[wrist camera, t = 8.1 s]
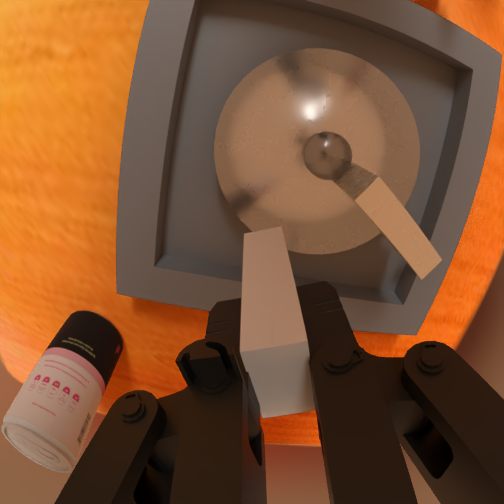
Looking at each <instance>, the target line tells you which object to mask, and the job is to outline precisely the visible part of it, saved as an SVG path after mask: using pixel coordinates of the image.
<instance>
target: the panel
mask: <svg viewBox="0 0 504 504" xmlns="http://www.w3.org/2000/svg"><path fill="white" fill-rule="evenodd" d="M307 48H324V49H332V50H338V51H342V52H345V53H349V54H352V55H354V56H356V57H359V58H361V59H363V60H365V61H367V62H368V63H370V64H372V65H373V66H375V67H376V68H378V69H379V70H380V71H381V72H383V73H384V74H385V75H386V76H387V77H388V78H389V79H390V80H391V81H392V82H393V83H394V84H395V85H396V86H397V88H398V89H399V90H400V92H401V93H402V95H403V96H404V98H405V99H406V101H407V103H408V105H409V107H410V109H411V111H412V114H413V116H414V119H415V122H416V126H417V130H418V135H419V142H420V162H419V170H418V174H417V178H416V182H415V185H414V188H413V190H412V193H411V195H410V197H409V199H408V201H407V203H406V205H405V206H404V208H405V209H406V211H407V212H408V213H409V214H410V216H411V217H412V218H413V220H414V221H415V222H416V224H417V225H418V226H419V228H420V229H421V231H422V232H423V233H424V235H425V236H426V237H427V239H428V240H429V242H430V243H431V244H432V246H433V247H434V249H435V250H436V252H437V253H438V255H439V256H440V258H441V259H442V261H441V262H440V263H439V264H438V265H437V266H436V267H435V268H434V269H433V270H431V271H430V272H429V273H428V274H427V275H426V276H425V277H424V278H423V279H422V280H421V278H420V277H419V276H418V275H417V274H416V273H415V272H414V271H413V269H412V268H411V267H410V266H409V265H408V264H407V263H406V262H405V261H404V259H403V258H402V257H401V256H400V255H399V254H398V253H397V252H396V251H395V250H394V249H393V248H392V246H391V245H390V244H389V243H388V242H387V241H386V239H385V238H384V237H383V236H382V235H381V234H378V235H377V236H375V237H374V238H372V239H371V240H369V241H367V242H365V243H363V244H361V245H360V246H357V247H354V248H352V249H349V250H346V251H341V252H337V253H331V254H305V253H298V252H294V251H290V250H287V251H288V256H289V260H290V264H291V268H292V273H293V277H294V281H295V286H302V285H307V284H312V283H317V282H322V281H326V282H328V283H329V284H330V285H332V286H333V287H334V288H335V289H336V291H337V294H338V296H339V298H340V301H341V303H342V306H343V309H344V311H345V313H346V316H347V318H348V321H349V324H350V326H351V329H352V330H355V331H365V332H377V333H389V334H402V335H417V333H418V331H419V329H420V327H421V325H422V323H423V321H424V319H425V317H426V315H427V313H428V311H429V309H430V307H431V305H432V303H433V301H434V299H435V297H436V295H437V293H438V290H439V288H440V286H441V284H442V282H443V279H444V277H445V275H446V272H447V270H448V268H449V265H450V263H451V261H452V258H453V256H454V253H455V251H456V248H457V245H458V243H459V240H460V238H461V235H462V232H463V229H464V227H465V224H466V221H467V218H468V215H469V212H470V209H471V206H472V203H473V200H474V196H475V193H476V190H477V186H478V183H479V179H480V176H481V172H482V168H483V165H484V161H485V157H486V153H487V148H488V144H489V139H490V135H491V130H492V125H493V120H494V114H495V108H496V102H497V95H498V88H499V80H500V72H501V61H502V54H500V53H499V52H497V51H496V50H495V49H493V48H492V47H490V46H489V45H487V44H486V43H485V42H483V41H482V40H480V39H478V38H477V37H475V36H474V35H472V34H471V33H469V32H467V31H466V30H464V29H463V28H461V27H459V26H458V25H456V24H454V23H452V22H451V21H449V20H447V19H445V18H443V17H442V16H440V15H438V14H436V13H434V12H432V11H430V10H428V9H426V8H424V7H422V6H420V5H418V4H416V3H414V2H412V1H410V0H150V1H149V5H148V9H147V13H146V16H145V20H144V24H143V28H142V33H141V37H140V41H139V46H138V50H137V55H136V60H135V65H134V70H133V76H132V81H131V87H130V93H129V99H128V106H127V112H126V120H125V127H124V135H123V144H122V154H121V164H120V176H119V190H118V208H117V238H116V278H117V294H121V295H126V296H131V297H135V298H140V299H145V300H150V301H155V302H161V303H166V304H171V305H177V306H182V307H188V308H193V309H199V310H205V311H211V309H212V308H213V307H214V305H215V304H216V303H217V302H219V301H225V300H231V299H237V298H242V273H243V246H244V234H245V233H250V232H253V231H252V230H250V229H249V228H248V227H247V226H246V225H245V224H244V223H243V222H242V221H241V220H240V219H239V217H238V216H237V215H236V214H235V212H234V211H233V210H232V208H231V207H230V205H229V203H228V202H227V200H226V198H225V196H224V194H223V191H222V189H221V187H220V184H219V181H218V177H217V173H216V168H215V161H214V140H215V133H216V127H217V124H218V121H219V117H220V114H221V112H222V110H223V107H224V105H225V103H226V101H227V99H228V98H229V96H230V95H231V93H232V92H233V90H234V89H235V87H236V86H237V85H238V84H239V83H240V82H241V80H242V79H243V78H244V77H245V76H247V75H248V74H249V73H250V72H251V71H252V70H253V69H255V68H256V67H258V66H259V65H261V64H262V63H264V62H265V61H267V60H269V59H271V58H274V57H276V56H278V55H280V54H284V53H287V52H290V51H294V50H300V49H307Z"/></svg>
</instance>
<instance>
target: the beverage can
mask: <svg viewBox="0 0 504 504" xmlns="http://www.w3.org/2000/svg"><path fill="white" fill-rule="evenodd" d="M122 349H123V342H122V338H121V336H120V334H119V332H118V331H117V329H116V328H115V327H114V325H113V324H112V323H111V322H110V321H109V320H107V319H106V318H104V317H103V316H101V315H99V314H97V313H94V312H91V311H77V312H74V313H73V314H71V315H70V316H69V318H68V319H67V320H66V322H65V323H64V324H63V326H62V327H61V329H60V330H59V332H58V333H57V334H56V336H55V337H54V339H53V340H52V342H51V343H50V345H49V346H48V348H47V349H46V350H45V352H44V353H43V355H42V356H41V358H40V360H39V361H38V363H37V364H36V366H35V367H34V369H33V370H32V372H31V373H30V375H29V377H28V378H27V380H26V381H25V383H24V385H23V386H22V388H21V390H20V391H19V393H18V394H17V396H16V398H15V399H14V401H13V403H12V405H11V406H10V408H9V410H8V412H7V413H6V415H5V417H4V419H3V422H4V424H3V425H2V432H3V434H4V436H5V437H6V438H7V440H8V441H9V442H10V443H11V444H12V445H13V446H14V447H15V448H16V449H17V450H19V451H20V452H21V453H22V454H24V455H25V456H27V457H28V458H29V459H31V460H33V461H34V462H36V463H38V464H40V465H42V466H44V467H46V468H48V469H51V470H54V471H57V472H62V473H69V472H71V471H72V468H73V467H74V466H75V465H76V464H77V461H78V458H79V456H80V453H81V450H82V447H83V445H84V442H85V439H86V437H87V434H88V431H89V429H90V426H91V423H92V421H93V419H94V416H95V414H96V411H97V409H98V406H99V404H100V401H101V399H102V396H103V394H104V391H105V389H106V387H107V384H108V382H109V380H110V377H111V375H112V373H113V370H114V368H115V366H116V363H117V361H118V359H119V357H120V354H121V352H122Z"/></svg>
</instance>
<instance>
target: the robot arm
mask: <svg viewBox="0 0 504 504" xmlns="http://www.w3.org/2000/svg"><path fill="white" fill-rule="evenodd" d="M207 324H208V326H207V329H206V335H205V339H202V340H198V341H195V342H193V343H192V344H190V345H188V346H186V347H185V348H184V349H183V350H182V351H181V352H180V353H179V355H178V357H177V359H176V361H175V362H176V364H177V366H178V367H179V369H180V371H181V373H182V375H183V377H184V379H185V381H186V383H187V385H188V387H186V388H185V389H183V390H181V391H179V392H177V393H174V394H171V395H168V396H165V397H162V398H159V399H156V398H155V397H154V395H153V394H152V393H150V392H147V391H145V390H135V391H132V392H128V393H126V394H124V395H123V396H121V397H120V398H118V399H117V400H116V402H115V403H114V404H113V405H112V407H111V408H110V410H109V412H108V413H107V415H106V417H105V418H104V420H103V422H102V423H101V425H100V427H99V428H98V430H97V431H96V433H95V435H94V437H93V438H92V440H91V441H90V443H89V445H88V447H87V448H86V450H85V451H84V453H83V455H82V456H81V458H80V460H79V462H78V463H77V465H76V467H75V469H74V470H73V472H72V474H71V475H70V477H69V479H68V481H67V483H66V484H65V486H64V488H63V489H62V491H61V493H60V495H59V497H58V498H57V500H56V502H55V504H267V496H266V472H265V446H264V433H263V430H262V427H261V425H260V412H261V415H262V418H269V417H276V416H283V415H289V414H295V413H301V412H307V411H313V410H316V414H317V421H318V430H319V439H320V441H321V447H322V454H323V460H324V466H325V473H326V479H327V486H328V493H329V499H330V504H418V503H417V499H416V495H415V492H414V488H413V485H412V482H411V478H410V475H409V472H408V468H407V465H406V462H405V459H404V456H403V453H402V449H401V446H400V444H401V445H402V447H403V448H404V450H405V451H406V453H407V454H408V456H409V457H410V459H411V460H412V461H413V463H414V464H415V466H416V467H417V469H418V470H419V472H420V473H421V475H422V476H423V478H424V479H425V481H426V482H427V484H428V485H429V487H430V488H431V490H432V491H433V493H434V494H435V496H436V497H437V499H438V500H439V502H440V503H441V504H504V399H503V398H502V397H501V396H500V395H499V394H498V393H497V392H496V391H495V390H494V389H493V388H492V387H491V386H490V385H489V384H488V383H487V382H486V381H485V380H484V379H483V378H482V377H481V376H480V375H479V374H478V373H477V372H476V371H475V370H474V369H473V368H472V367H471V366H470V365H469V364H468V363H467V362H466V361H465V360H464V359H462V358H461V357H460V356H459V355H458V354H457V353H456V352H455V351H454V350H453V349H452V348H450V347H449V346H447V345H446V344H444V343H440V342H436V341H424V342H421V343H418V344H415V345H414V346H413V347H411V348H410V349H409V350H408V351H407V353H406V355H405V357H378V356H375V355H371V354H369V353H367V352H366V351H365V350H364V349H363V348H361V347H360V346H359V345H358V343H357V341H356V339H355V336H354V334H353V331H352V329H351V326H350V324H349V321H348V318H347V316H346V313H345V311H344V309H343V306H342V303H341V301H340V298H339V296H338V294H337V291H336V289H335V288H334V287H333V286H332V285H330V284H329V283H328V282H326V281H322V282H317V283H312V284H307V285H302V286H295V281H294V277H293V273H292V268H291V264H290V260H289V256H288V251H287V247H286V243H285V239H284V235H283V231H282V226H281V227H275V228H270V229H265V230H260V231H255V232H250V233H245V234H244V246H243V273H242V298H237V299H231V300H225V301H219V302H217V303H216V304H215V305H214V307H213V308H212V309H211V311H210V312H209V317H208V323H207ZM399 442H400V443H399Z"/></svg>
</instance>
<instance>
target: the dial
mask: <svg viewBox="0 0 504 504" xmlns="http://www.w3.org/2000/svg"><path fill="white" fill-rule="evenodd" d="M214 161H215V168H216V173H217V177H218V181H219V184H220V187H221V189H222V191H223V194H224V196H225V198H226V200H227V202H228V203H229V205H230V207H231V208H232V210H233V211H234V212H235V214H236V215H237V216H238V217H239V219H240V220H241V221H242V222H243V223H244V224H245V225H246V226H247V227H248V228H249V229H250V230H252V231H253V232H255V231H260V230H265V229H270V228H275V227H281V226H282V231H283V235H284V239H285V243H286V247H287V250H290V251H294V252H298V253H305V254H331V253H337V252H341V251H346V250H349V249H352V248H354V247H357V246H360V245H361V244H363V243H365V242H367V241H369V240H371V239H372V238H374V237H375V236H377V235H378V234H381V235H382V236H383V237H384V238H385V239H386V241H387V242H388V243H389V244H390V245H391V246H392V248H393V249H394V250H395V251H396V252H397V253H398V254H399V255H400V256H401V257H402V258H403V259H404V261H405V262H406V263H407V264H408V265H409V266H410V267H411V268H412V269H413V271H414V272H415V273H416V274H417V275H418V276H419V277H420V278H421V280H422V279H423V278H424V277H425V276H426V275H427V274H428V273H429V272H430V271H431V270H433V269H434V268H435V267H436V266H437V265H438V264H439V263H440V262H441V261H442V259H441V258H440V256H439V255H438V253H437V252H436V250H435V249H434V247H433V246H432V244H431V243H430V242H429V240H428V239H427V237H426V236H425V235H424V233H423V232H422V231H421V229H420V228H419V226H418V225H417V224H416V222H415V221H414V220H413V218H412V217H411V216H410V214H409V213H408V212H407V211H406V209H405V208H404V206H405V205H406V203H407V201H408V199H409V197H410V195H411V193H412V190H413V188H414V185H415V182H416V178H417V174H418V170H419V162H420V142H419V135H418V130H417V126H416V122H415V119H414V116H413V114H412V111H411V109H410V107H409V105H408V103H407V101H406V99H405V98H404V96H403V95H402V93H401V92H400V90H399V89H398V88H397V86H396V85H395V84H394V83H393V82H392V81H391V80H390V79H389V78H388V77H387V76H386V75H385V74H384V73H383V72H381V71H380V70H379V69H378V68H376V67H375V66H373V65H372V64H370V63H368V62H367V61H365V60H363V59H361V58H359V57H356V56H354V55H352V54H349V53H345V52H342V51H338V50H332V49H324V48H307V49H300V50H294V51H290V52H287V53H284V54H280V55H278V56H276V57H274V58H271V59H269V60H267V61H265V62H264V63H262V64H261V65H259V66H258V67H256V68H255V69H253V70H252V71H251V72H250V73H249V74H248V75H247V76H245V77H244V78H243V79H242V80H241V82H240V83H239V84H238V85H237V86H236V87H235V89H234V90H233V92H232V93H231V95H230V96H229V98H228V99H227V101H226V103H225V105H224V107H223V110H222V112H221V114H220V117H219V121H218V124H217V127H216V133H215V140H214Z"/></svg>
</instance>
